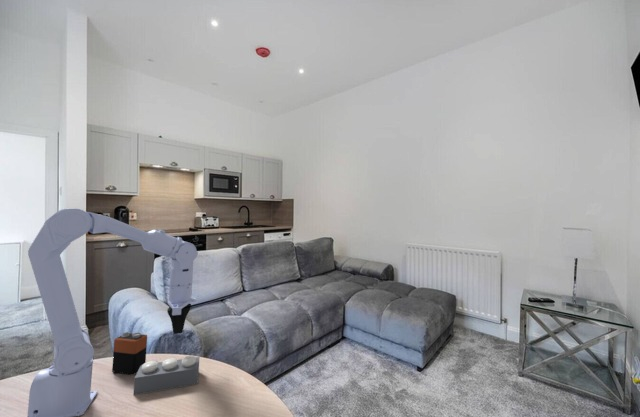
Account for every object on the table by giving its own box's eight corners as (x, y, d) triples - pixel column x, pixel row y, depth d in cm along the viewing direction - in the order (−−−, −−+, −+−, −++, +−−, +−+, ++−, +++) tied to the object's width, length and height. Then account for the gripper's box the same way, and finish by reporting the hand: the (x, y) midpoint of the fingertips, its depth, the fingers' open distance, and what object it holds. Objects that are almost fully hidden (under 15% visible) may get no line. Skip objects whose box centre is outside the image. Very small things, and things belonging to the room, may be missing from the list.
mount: (133, 395, 64) (134, 377, 64) (139, 380, 69) (140, 364, 70) (197, 383, 69) (198, 368, 69) (198, 371, 75) (199, 356, 75)
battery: (133, 375, 71) (136, 337, 72) (110, 373, 72) (113, 335, 73) (146, 367, 76) (148, 331, 76) (124, 364, 77) (127, 329, 77)
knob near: (138, 390, 65) (140, 369, 66) (142, 382, 68) (143, 362, 69) (154, 388, 67) (156, 366, 67) (157, 380, 70) (158, 360, 70)
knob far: (179, 383, 69) (181, 363, 69) (181, 376, 72) (182, 356, 72) (194, 381, 70) (195, 361, 70) (195, 374, 73) (196, 354, 73)
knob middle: (159, 387, 67) (161, 366, 67) (162, 379, 70) (163, 359, 70) (175, 384, 68) (176, 363, 68) (176, 377, 71) (178, 357, 72)
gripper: (194, 289, 70) (191, 341, 70) (197, 277, 84) (195, 321, 83) (164, 291, 68) (160, 345, 67) (172, 278, 81) (169, 323, 81)
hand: (178, 332), depth 75 cm, fingers closed
